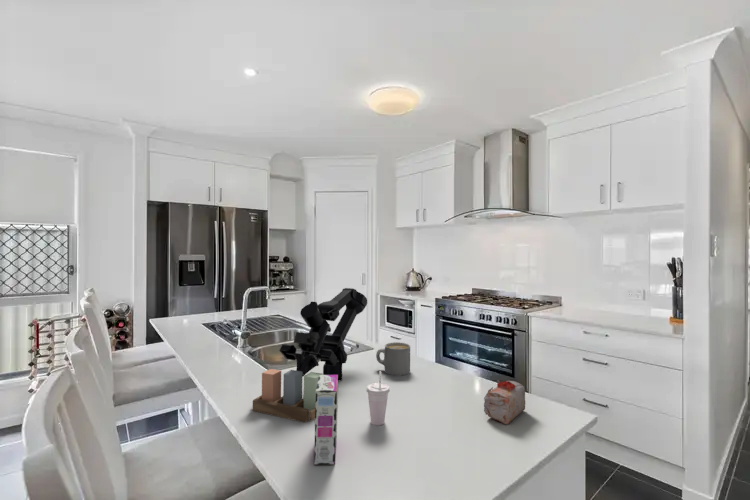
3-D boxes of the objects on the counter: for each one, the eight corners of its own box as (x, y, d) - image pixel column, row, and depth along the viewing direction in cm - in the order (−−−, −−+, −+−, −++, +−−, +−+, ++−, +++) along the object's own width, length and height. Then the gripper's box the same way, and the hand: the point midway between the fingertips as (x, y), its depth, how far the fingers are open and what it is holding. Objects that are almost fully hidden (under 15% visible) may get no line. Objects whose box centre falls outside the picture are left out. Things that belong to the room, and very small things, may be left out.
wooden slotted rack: (271, 397, 115) (271, 387, 115) (327, 408, 107) (327, 398, 107) (249, 410, 106) (249, 399, 106) (309, 423, 98) (309, 412, 98)
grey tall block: (291, 402, 111) (291, 369, 111) (302, 404, 110) (302, 371, 110) (283, 407, 107) (283, 374, 107) (294, 409, 106) (294, 375, 106)
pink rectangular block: (270, 400, 112) (270, 368, 112) (280, 403, 110) (281, 370, 110) (261, 406, 108) (262, 372, 108) (272, 408, 107) (272, 374, 107)
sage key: (310, 404, 110) (311, 371, 110) (322, 406, 108) (322, 373, 108) (303, 410, 106) (303, 376, 106) (315, 412, 104) (315, 378, 104)
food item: (509, 428, 97) (509, 392, 97) (481, 418, 102) (482, 384, 102) (527, 412, 107) (528, 379, 107) (501, 404, 112) (502, 372, 112)
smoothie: (387, 428, 96) (387, 376, 96) (363, 426, 97) (364, 374, 97) (390, 417, 102) (391, 368, 102) (368, 415, 103) (369, 366, 103)
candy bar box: (336, 465, 79) (337, 391, 79) (313, 466, 79) (314, 391, 79) (337, 438, 90) (338, 373, 90) (317, 439, 90) (318, 373, 90)
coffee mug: (413, 369, 143) (414, 344, 143) (404, 377, 134) (404, 350, 134) (383, 364, 149) (383, 340, 149) (372, 371, 140) (372, 345, 140)
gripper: (283, 319, 119) (260, 362, 109) (333, 324, 112) (314, 370, 102) (296, 338, 126) (276, 379, 116) (344, 343, 119) (327, 388, 109)
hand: (297, 379), depth 111 cm, fingers closed, pressing on grey tall block
